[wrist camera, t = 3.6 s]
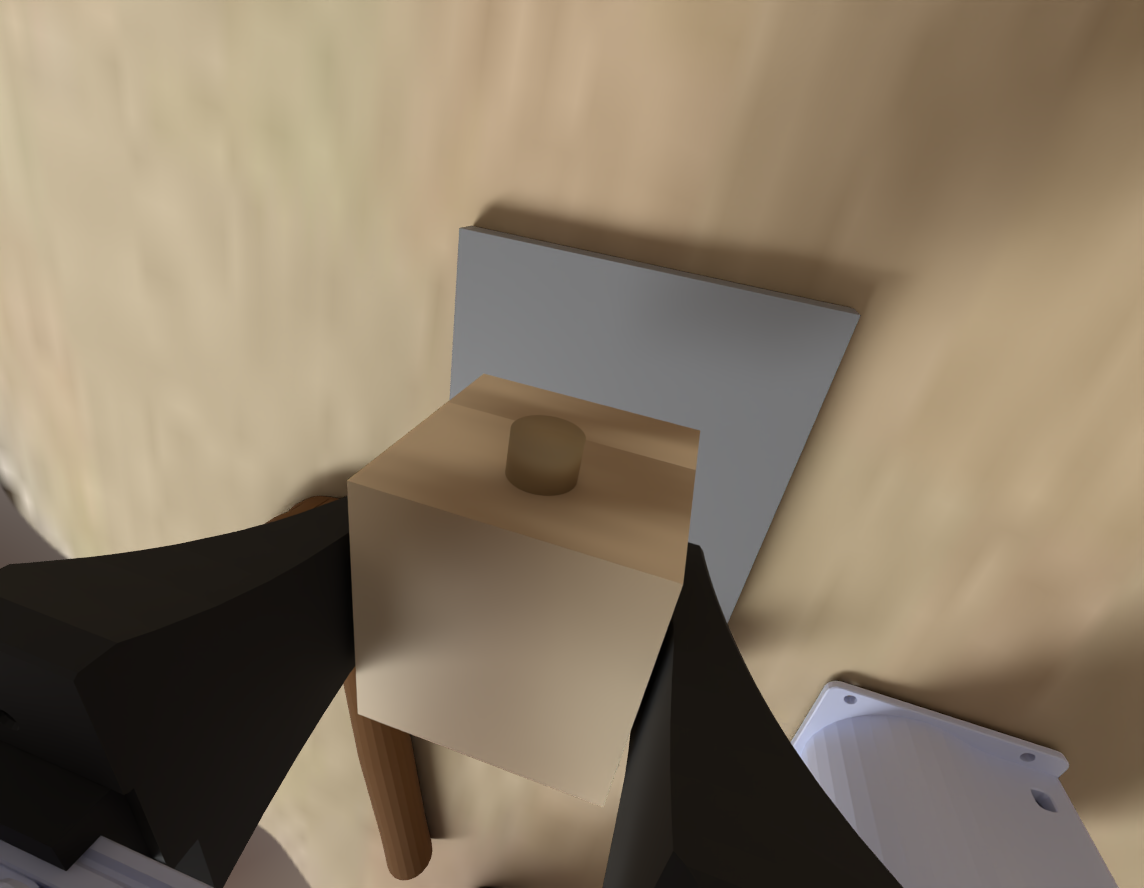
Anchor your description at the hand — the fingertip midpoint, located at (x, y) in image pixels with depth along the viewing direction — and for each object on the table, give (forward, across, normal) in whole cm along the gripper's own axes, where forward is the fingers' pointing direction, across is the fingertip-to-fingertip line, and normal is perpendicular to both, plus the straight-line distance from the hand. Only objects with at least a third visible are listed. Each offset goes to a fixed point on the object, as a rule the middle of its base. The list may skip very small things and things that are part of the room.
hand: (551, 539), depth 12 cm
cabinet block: (+2, 0, 0) cm, 2 cm away
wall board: (+9, 0, +4) cm, 10 cm away
